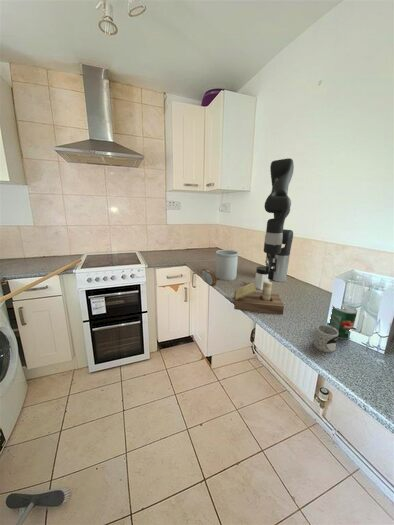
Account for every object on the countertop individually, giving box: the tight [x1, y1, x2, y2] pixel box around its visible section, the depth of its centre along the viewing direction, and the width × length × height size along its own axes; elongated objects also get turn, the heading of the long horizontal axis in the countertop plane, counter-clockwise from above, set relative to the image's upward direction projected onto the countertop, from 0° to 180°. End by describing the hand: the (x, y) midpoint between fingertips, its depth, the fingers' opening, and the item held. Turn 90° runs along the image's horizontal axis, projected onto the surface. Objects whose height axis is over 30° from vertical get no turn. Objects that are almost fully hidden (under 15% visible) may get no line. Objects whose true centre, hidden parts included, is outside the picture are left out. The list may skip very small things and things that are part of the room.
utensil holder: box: [215, 249, 240, 282], centre depth 144 cm, size 15×15×18 cm
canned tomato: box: [328, 305, 358, 340], centre depth 84 cm, size 8×8×11 cm
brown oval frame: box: [201, 268, 218, 287], centre depth 133 cm, size 15×3×8 cm, turn 26°
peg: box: [261, 281, 273, 301], centre depth 105 cm, size 4×4×12 cm
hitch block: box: [233, 289, 285, 315], centre depth 107 cm, size 14×22×4 cm, turn 80°
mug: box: [313, 324, 339, 354], centre depth 77 cm, size 10×7×7 cm, turn 124°
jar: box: [254, 265, 270, 291], centre depth 129 cm, size 9×8×12 cm
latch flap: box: [235, 281, 257, 300], centre depth 106 cm, size 11×10×1 cm
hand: (269, 276), depth 102 cm, fingers open, 8 cm apart
